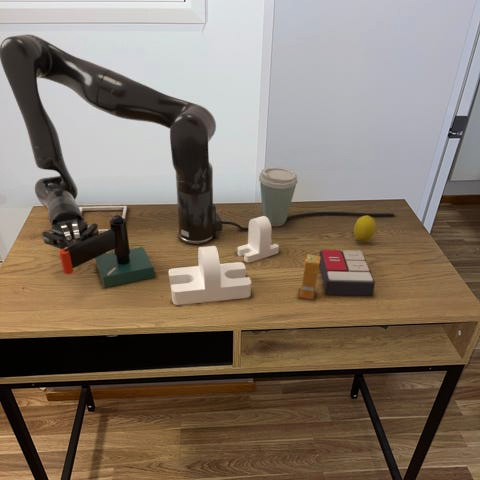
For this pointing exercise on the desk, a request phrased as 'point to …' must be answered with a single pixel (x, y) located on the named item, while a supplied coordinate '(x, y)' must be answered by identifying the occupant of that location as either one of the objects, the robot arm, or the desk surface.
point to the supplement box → (310, 276)
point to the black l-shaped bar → (97, 246)
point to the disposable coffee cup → (277, 193)
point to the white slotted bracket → (209, 280)
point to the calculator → (345, 273)
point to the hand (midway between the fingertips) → (77, 251)
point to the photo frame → (105, 209)
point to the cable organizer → (258, 241)
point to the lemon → (364, 228)
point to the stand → (124, 267)
